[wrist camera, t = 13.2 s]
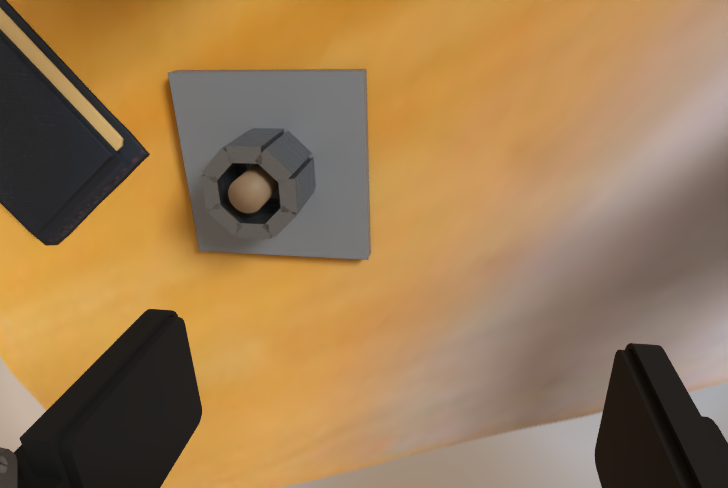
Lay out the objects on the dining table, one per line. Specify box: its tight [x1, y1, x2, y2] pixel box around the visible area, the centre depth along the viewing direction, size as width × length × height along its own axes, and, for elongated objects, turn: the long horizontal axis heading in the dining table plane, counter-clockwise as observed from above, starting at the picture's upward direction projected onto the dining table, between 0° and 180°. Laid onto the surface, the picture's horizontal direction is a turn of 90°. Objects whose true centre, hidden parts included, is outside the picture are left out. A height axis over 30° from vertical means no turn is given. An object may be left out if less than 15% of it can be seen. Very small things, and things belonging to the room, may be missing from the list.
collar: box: [201, 128, 316, 239], centre depth 37 cm, size 6×6×5 cm
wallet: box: [0, 0, 150, 245], centre depth 42 cm, size 20×2×15 cm
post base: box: [168, 69, 371, 260], centre depth 37 cm, size 14×14×7 cm
